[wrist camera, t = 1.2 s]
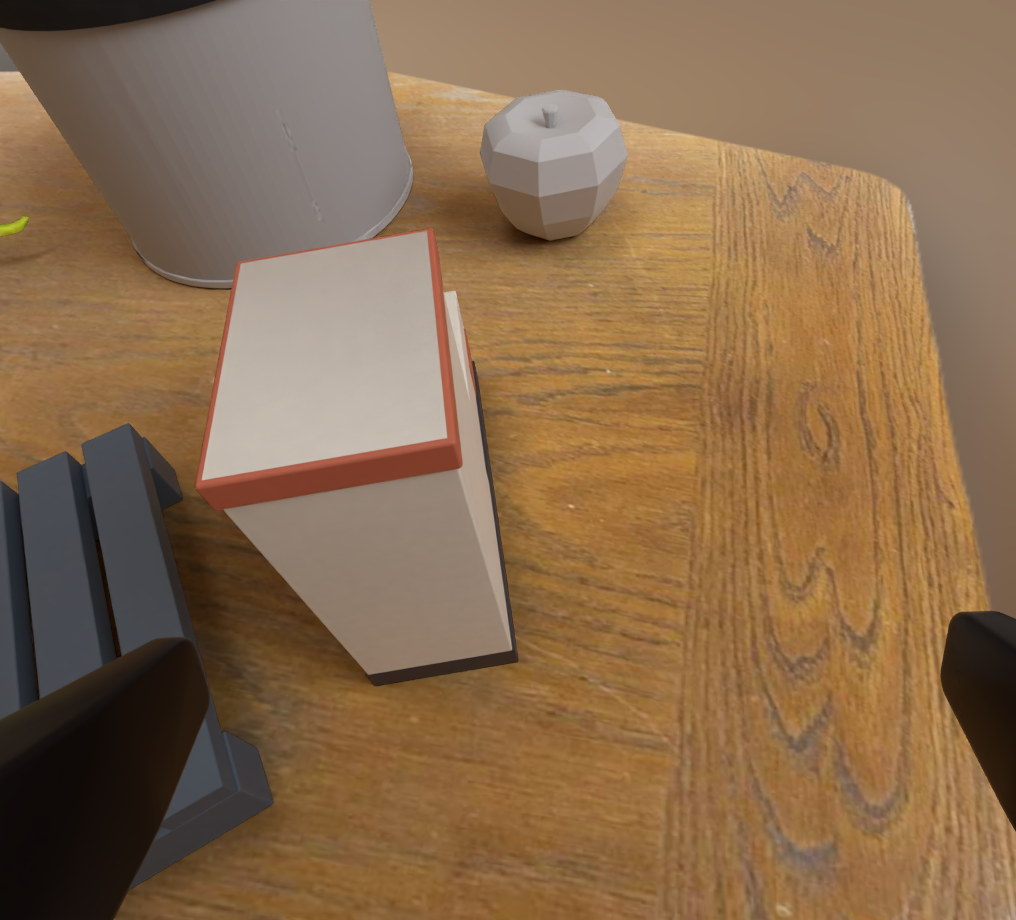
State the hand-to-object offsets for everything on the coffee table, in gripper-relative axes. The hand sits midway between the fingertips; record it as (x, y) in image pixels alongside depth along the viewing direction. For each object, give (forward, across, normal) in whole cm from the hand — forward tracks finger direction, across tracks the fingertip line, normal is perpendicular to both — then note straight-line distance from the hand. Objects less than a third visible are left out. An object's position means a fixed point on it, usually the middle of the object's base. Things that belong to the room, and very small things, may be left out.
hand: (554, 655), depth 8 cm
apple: (+34, 0, -4) cm, 35 cm away
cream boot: (+18, +5, +6) cm, 20 cm away
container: (+39, +18, -7) cm, 43 cm away
